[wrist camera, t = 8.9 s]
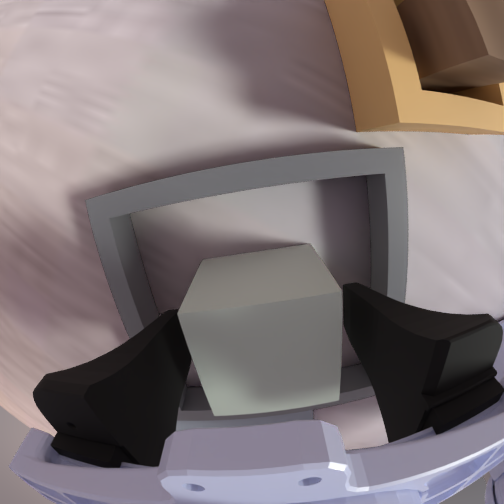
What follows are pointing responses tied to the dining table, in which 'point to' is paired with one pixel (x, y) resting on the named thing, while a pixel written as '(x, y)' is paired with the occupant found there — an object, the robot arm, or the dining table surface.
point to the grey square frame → (245, 178)
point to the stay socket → (402, 77)
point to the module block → (265, 330)
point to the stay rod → (455, 42)
